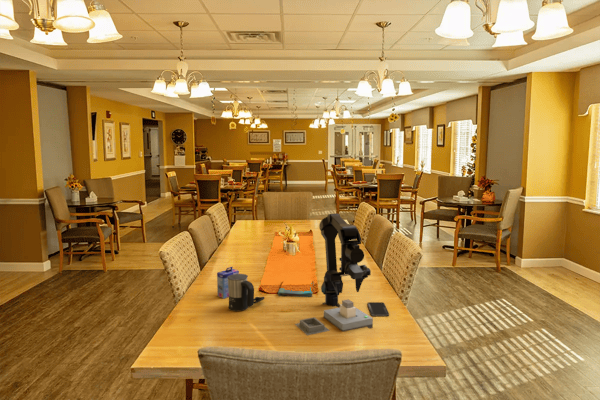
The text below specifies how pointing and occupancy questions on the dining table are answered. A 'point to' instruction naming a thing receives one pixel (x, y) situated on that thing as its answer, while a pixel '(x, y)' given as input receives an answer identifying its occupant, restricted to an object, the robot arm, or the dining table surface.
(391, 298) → the dining table surface
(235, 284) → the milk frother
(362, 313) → the port
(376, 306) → the phone
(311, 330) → the holster
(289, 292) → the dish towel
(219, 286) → the ink cartridge box
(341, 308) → the plug
